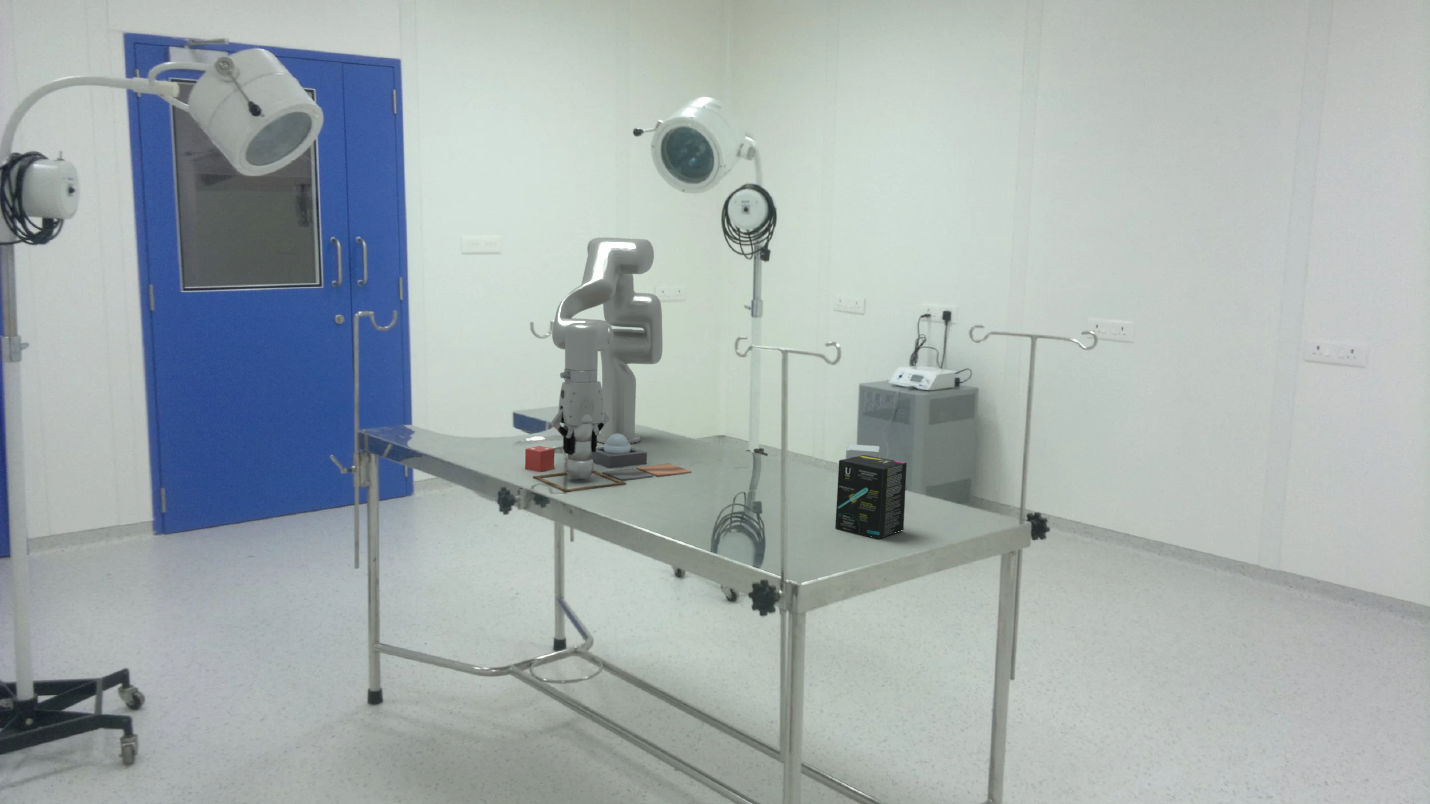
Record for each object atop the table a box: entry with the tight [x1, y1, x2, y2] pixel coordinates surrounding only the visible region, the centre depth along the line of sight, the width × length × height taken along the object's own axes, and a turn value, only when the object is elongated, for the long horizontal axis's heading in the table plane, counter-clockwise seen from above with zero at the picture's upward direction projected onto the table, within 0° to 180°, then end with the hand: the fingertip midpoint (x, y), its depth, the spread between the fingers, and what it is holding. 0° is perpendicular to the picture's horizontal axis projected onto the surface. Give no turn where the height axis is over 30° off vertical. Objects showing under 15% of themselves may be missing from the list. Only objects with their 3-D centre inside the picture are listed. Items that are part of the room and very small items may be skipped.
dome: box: [603, 434, 632, 455], centre depth 273 cm, size 7×7×6 cm
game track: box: [532, 462, 692, 493], centre depth 257 cm, size 16×37×1 cm, turn 127°
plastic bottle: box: [565, 414, 595, 480], centre depth 250 cm, size 6×7×20 cm
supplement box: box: [845, 443, 881, 459], centre depth 240 cm, size 7×7×13 cm
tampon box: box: [834, 455, 907, 539], centre depth 217 cm, size 11×9×15 cm
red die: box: [524, 445, 555, 473], centre depth 262 cm, size 5×5×5 cm
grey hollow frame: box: [592, 446, 648, 469], centre depth 273 cm, size 11×11×3 cm
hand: (580, 451), depth 250 cm, fingers closed on plastic bottle, 5 cm apart
